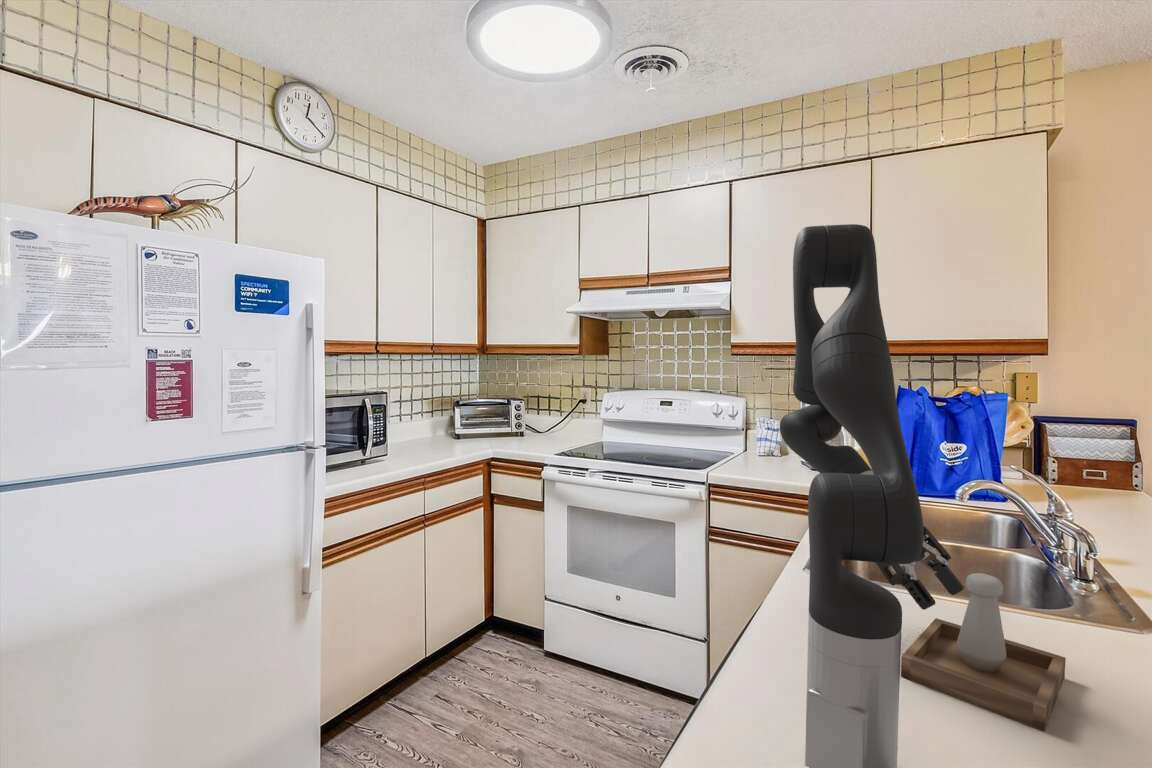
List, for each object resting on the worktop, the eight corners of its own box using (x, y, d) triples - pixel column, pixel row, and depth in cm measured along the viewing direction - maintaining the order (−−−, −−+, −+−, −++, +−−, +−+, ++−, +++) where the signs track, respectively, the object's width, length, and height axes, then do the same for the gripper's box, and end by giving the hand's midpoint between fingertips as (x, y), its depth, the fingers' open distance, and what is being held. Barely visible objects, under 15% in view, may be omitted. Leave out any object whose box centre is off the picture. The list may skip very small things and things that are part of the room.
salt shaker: (983, 679, 79) (987, 587, 78) (946, 657, 84) (950, 571, 83) (1015, 672, 80) (1020, 582, 79) (977, 651, 86) (981, 566, 85)
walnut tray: (1044, 731, 70) (1045, 707, 70) (900, 676, 81) (901, 655, 81) (1064, 677, 81) (1065, 657, 80) (935, 636, 92) (935, 618, 92)
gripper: (862, 500, 87) (940, 601, 79) (912, 486, 95) (988, 577, 86) (830, 524, 92) (900, 622, 83) (879, 509, 100) (948, 598, 91)
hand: (944, 599), depth 85 cm, fingers open, 8 cm apart
